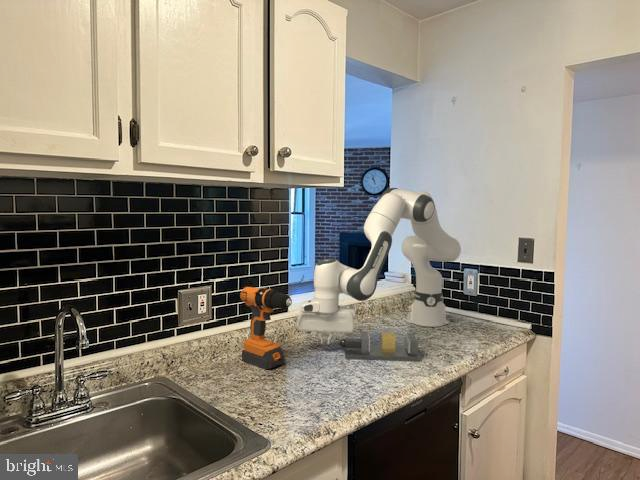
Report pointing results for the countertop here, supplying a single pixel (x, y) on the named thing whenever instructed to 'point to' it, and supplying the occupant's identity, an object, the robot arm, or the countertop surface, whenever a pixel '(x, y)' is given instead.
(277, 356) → the power drill
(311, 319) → the robot arm
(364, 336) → the jaw
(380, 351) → the vise
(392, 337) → the block
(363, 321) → the countertop surface
